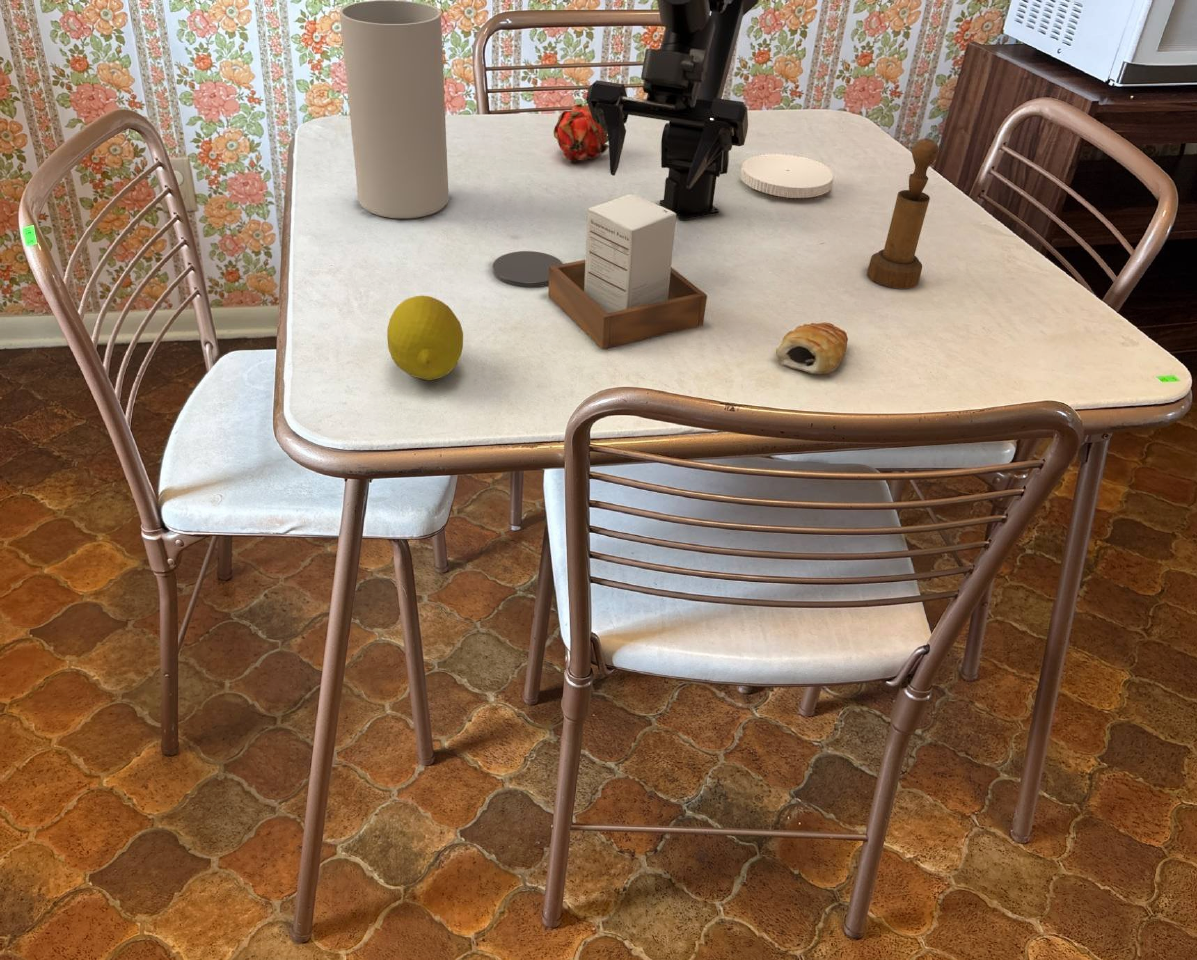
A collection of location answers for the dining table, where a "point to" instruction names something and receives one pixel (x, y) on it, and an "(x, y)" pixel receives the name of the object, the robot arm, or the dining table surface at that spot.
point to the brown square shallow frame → (629, 323)
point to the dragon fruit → (580, 134)
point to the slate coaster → (524, 268)
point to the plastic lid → (787, 175)
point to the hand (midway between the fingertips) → (649, 180)
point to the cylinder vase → (396, 106)
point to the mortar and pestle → (906, 226)
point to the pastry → (813, 348)
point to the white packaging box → (628, 253)
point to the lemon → (425, 337)
